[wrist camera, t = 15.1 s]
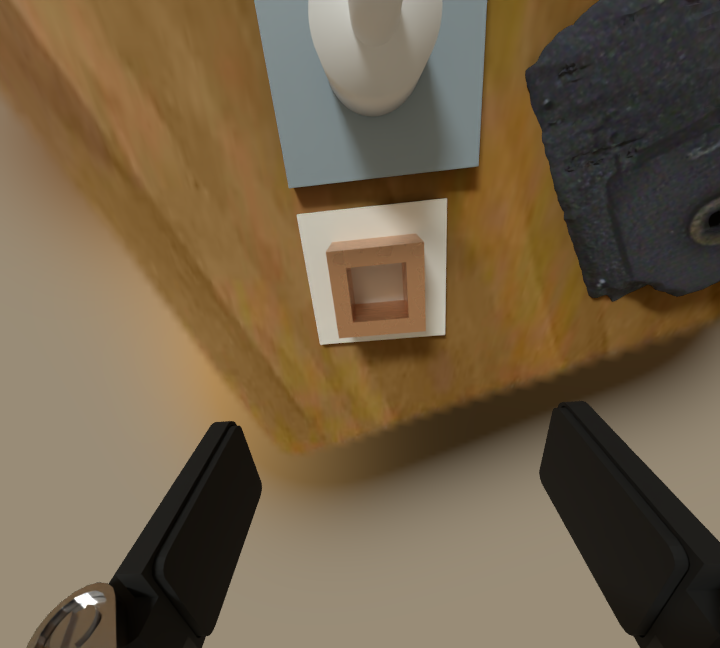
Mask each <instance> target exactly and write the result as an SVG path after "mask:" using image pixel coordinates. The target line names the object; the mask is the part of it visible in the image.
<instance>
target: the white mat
mask: <svg viewBox="0 0 720 648" xmlns="http://www.w3.org/2000/svg"><path fill="white" fill-rule="evenodd" d="M297 220H298V225H299V231H300V236H301V242H302V247H303V253H304V258H305V264H306V269H307V275H308V280H309V286H310V291H311V297H312V302H313V308H314V313H315V319H316V324H317V330H318V335H319V341H320V345H322V344H335V343H348V342H360V341H373V340H386V339H398V338H411V337H424V336H436V335H445V310H446V238H447V198H441V199H432V200H423V201H414V202H405V203H396V204H387V205H378V206H368V207H359V208H350V209H341V210H332V211H323V212H314V213H305V214H298V215H297ZM406 234H417V235H418V236H419V237H420V238H421V239H422V240H423V241H424V261H425V314H426V331H423V332H411V333H399V334H386V335H374V336H362V337H350V338H339V335H338V329H337V322H336V316H335V309H334V303H333V296H332V290H331V283H330V277H329V270H328V264H327V257H326V251H327V249H328V248H329V246H330V245H331V243H332V242H340V241H349V240H359V239H368V238H378V237H387V236H397V235H406ZM351 274H352V283H353V291H354V299H355V304H364V303H375V302H386V301H397V300H404V298H403V278H402V263H394V264H383V265H373V266H363V267H353V268H351Z"/></svg>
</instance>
